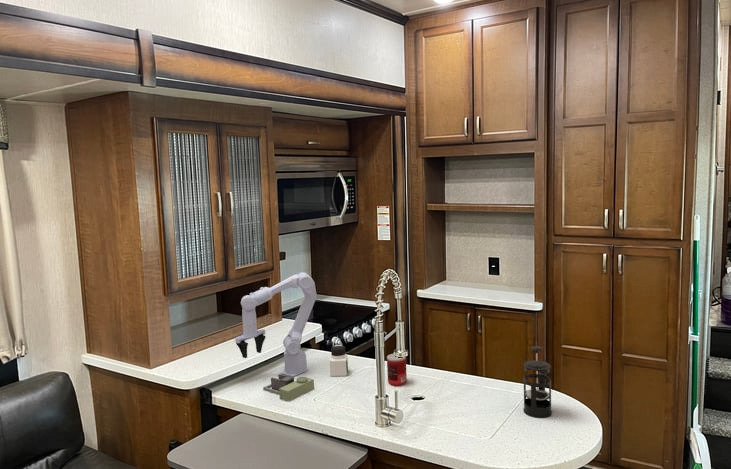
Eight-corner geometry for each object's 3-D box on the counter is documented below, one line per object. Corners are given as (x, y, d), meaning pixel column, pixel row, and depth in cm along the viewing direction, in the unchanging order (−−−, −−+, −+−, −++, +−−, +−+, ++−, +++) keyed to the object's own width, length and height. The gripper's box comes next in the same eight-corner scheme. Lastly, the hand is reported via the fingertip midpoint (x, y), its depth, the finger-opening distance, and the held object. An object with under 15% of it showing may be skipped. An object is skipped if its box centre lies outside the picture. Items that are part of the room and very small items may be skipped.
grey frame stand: (285, 380, 220) (284, 368, 220) (314, 388, 210) (313, 376, 209) (259, 391, 210) (258, 379, 209) (288, 401, 199) (287, 388, 198)
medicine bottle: (347, 376, 222) (345, 348, 220) (330, 376, 222) (329, 349, 220) (348, 370, 229) (346, 343, 227) (331, 370, 229) (330, 344, 227)
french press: (547, 421, 174) (546, 354, 171) (519, 415, 179) (518, 350, 176) (556, 407, 183) (555, 343, 181) (529, 402, 188) (528, 340, 186)
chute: (271, 389, 211) (270, 377, 211) (280, 385, 215) (279, 373, 215) (286, 393, 207) (285, 381, 206) (294, 389, 211) (293, 377, 210)
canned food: (407, 378, 216) (406, 352, 215) (406, 386, 208) (405, 359, 207) (388, 378, 216) (387, 353, 215) (387, 386, 209) (386, 359, 207)
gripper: (256, 318, 229) (259, 348, 231) (229, 326, 218) (232, 358, 220) (267, 320, 225) (269, 351, 227) (240, 329, 214) (242, 361, 215)
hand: (251, 354), depth 223 cm, fingers open, 7 cm apart
